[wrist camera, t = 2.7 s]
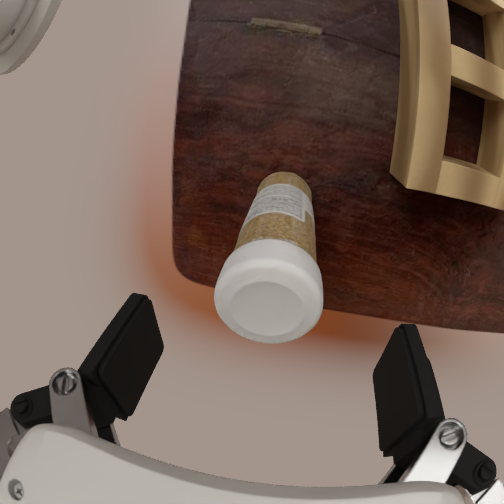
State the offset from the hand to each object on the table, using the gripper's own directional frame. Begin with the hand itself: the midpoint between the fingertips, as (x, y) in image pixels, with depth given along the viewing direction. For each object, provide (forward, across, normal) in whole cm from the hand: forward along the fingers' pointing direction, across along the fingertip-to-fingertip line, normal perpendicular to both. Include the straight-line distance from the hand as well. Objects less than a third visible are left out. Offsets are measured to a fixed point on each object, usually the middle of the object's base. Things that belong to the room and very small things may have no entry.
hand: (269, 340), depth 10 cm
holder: (+15, -14, -13) cm, 24 cm away
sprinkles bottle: (+15, 0, 0) cm, 15 cm away
